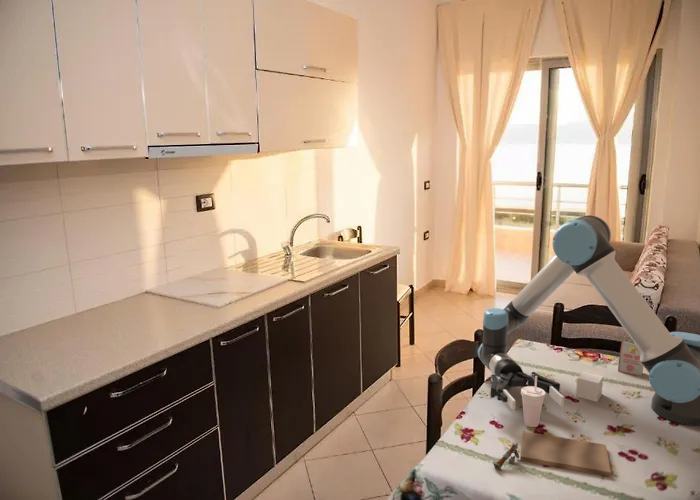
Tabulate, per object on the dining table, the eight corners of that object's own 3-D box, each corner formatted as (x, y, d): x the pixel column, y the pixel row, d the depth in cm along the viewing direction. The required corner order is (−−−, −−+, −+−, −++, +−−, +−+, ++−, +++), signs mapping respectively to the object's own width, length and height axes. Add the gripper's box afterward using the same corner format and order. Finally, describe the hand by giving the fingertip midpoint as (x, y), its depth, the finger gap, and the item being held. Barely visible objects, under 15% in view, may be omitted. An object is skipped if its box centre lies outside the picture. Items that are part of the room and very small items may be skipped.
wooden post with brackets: (523, 455, 133) (519, 443, 131) (503, 478, 130) (498, 465, 128) (517, 452, 134) (513, 439, 132) (497, 474, 131) (492, 462, 129)
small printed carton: (620, 367, 184) (623, 339, 182) (642, 372, 180) (645, 344, 178) (617, 371, 181) (620, 343, 179) (640, 376, 177) (643, 347, 175)
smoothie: (546, 429, 146) (550, 381, 143) (523, 429, 146) (525, 381, 143) (539, 417, 152) (542, 371, 149) (516, 417, 152) (518, 371, 149)
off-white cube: (601, 394, 166) (603, 376, 164) (596, 402, 161) (598, 383, 160) (581, 389, 169) (582, 371, 168) (575, 396, 164) (577, 378, 163)
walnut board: (605, 449, 137) (605, 444, 136) (610, 476, 126) (610, 472, 125) (522, 435, 143) (522, 431, 143) (520, 460, 132) (520, 456, 132)
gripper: (544, 378, 167) (581, 412, 147) (466, 384, 164) (492, 419, 144) (545, 356, 166) (583, 387, 145) (466, 361, 163) (493, 393, 142)
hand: (538, 403), depth 144 cm, fingers open, 13 cm apart
